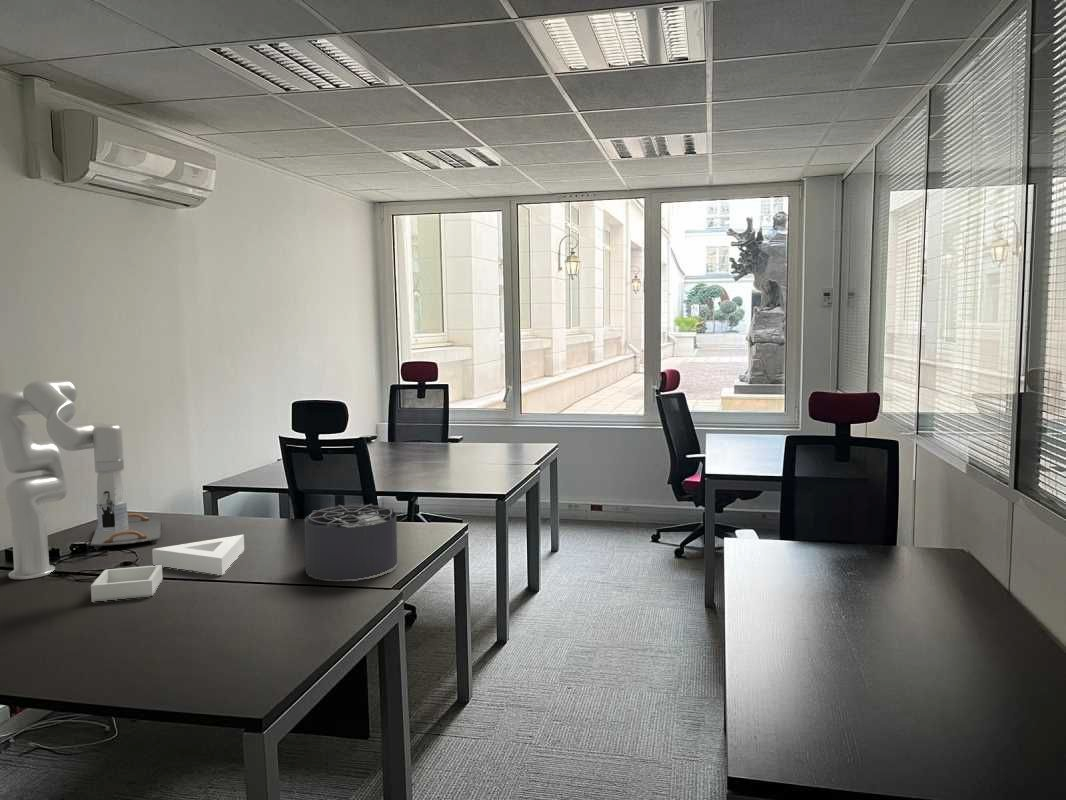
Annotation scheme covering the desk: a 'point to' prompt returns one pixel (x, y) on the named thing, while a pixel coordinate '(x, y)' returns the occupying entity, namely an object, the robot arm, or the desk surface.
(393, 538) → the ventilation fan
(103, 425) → the robot arm
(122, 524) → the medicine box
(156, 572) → the box
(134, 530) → the serving board
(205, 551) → the triangular ruler
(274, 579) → the desk surface
